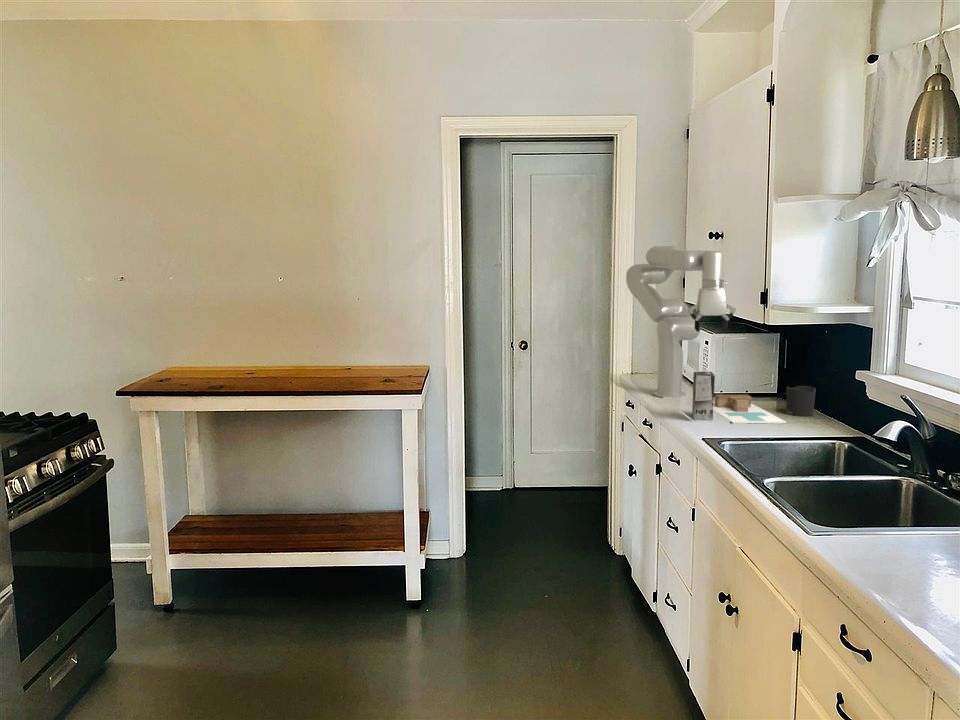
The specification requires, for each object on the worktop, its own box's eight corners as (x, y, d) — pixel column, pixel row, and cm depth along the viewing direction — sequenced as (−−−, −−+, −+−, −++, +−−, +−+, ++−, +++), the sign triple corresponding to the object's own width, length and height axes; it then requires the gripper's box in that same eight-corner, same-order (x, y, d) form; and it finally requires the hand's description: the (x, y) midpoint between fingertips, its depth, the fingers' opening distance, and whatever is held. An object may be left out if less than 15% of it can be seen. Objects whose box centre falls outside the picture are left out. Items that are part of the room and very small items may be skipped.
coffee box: (713, 422, 252) (715, 375, 249) (693, 421, 253) (695, 375, 251) (710, 416, 261) (712, 371, 258) (691, 416, 262) (693, 370, 259)
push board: (701, 403, 283) (701, 401, 283) (748, 403, 284) (748, 401, 284) (732, 423, 250) (732, 421, 250) (785, 423, 250) (785, 421, 250)
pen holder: (785, 411, 268) (786, 384, 267) (813, 414, 264) (815, 386, 263) (785, 417, 259) (786, 389, 258) (814, 419, 256) (816, 390, 254)
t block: (714, 405, 277) (715, 394, 276) (746, 405, 277) (747, 394, 276) (725, 412, 265) (726, 401, 264) (759, 411, 265) (759, 400, 265)
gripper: (733, 284, 275) (731, 330, 278) (686, 284, 276) (685, 330, 278) (739, 284, 268) (737, 332, 270) (691, 285, 269) (689, 332, 271)
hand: (711, 331), depth 274 cm, fingers open, 9 cm apart
